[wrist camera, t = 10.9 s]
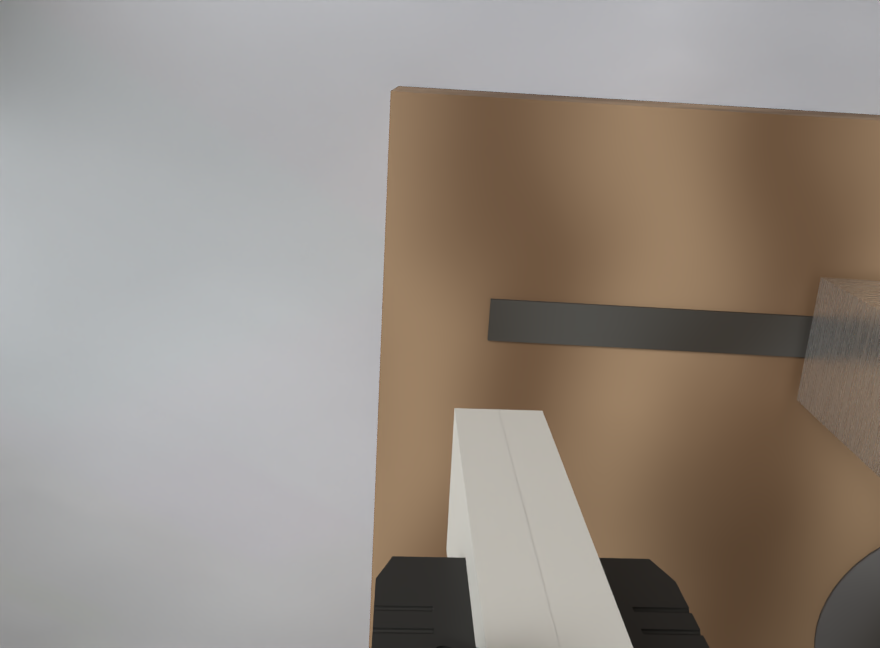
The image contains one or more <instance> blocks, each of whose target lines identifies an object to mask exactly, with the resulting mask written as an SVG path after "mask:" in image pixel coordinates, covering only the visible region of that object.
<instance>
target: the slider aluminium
mask: <svg viewBox="0 0 880 648" xmlns="http://www.w3.org/2000/svg"><path fill="white" fill-rule="evenodd" d="M797 401H798V402H799V403H800V404H802V405H803V406H804V407H805V408H806V409H807V410H808V411H809V412H810V413H811V414H812V415H813V416H814V417H815V418H817V419H818V420H819V421H820V422H821V423H822V424H823V425H824V426H825V427H826V428H827V429H828V430H829V431H830V432H832V433H833V434H834V435H835V436H836V437H837V438H838V439H839V440H840V441H841V442H842V443H843V444H844V445H845V446H847V447H848V448H849V449H850V450H851V451H852V452H853V453H854V454H855V455H856V456H857V457H858V458H859V459H860V460H862V461H863V462H864V463H865V464H866V465H867V466H868V467H869V468H870V469H871V470H872V471H873V472H874V473H875V474H877V475H878V476H879V477H880V281H875V280H857V279H839V278H822V277H821V280H820V285H819V290H818V295H817V300H816V305H815V310H814V315H813V320H812V325H811V330H810V335H809V340H808V345H807V350H806V355H805V360H804V365H803V370H802V375H801V380H800V385H799V390H798V395H797Z"/></svg>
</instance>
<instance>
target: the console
mask: <svg viewBox="0 0 880 648" xmlns="http://www.w3.org/2000/svg"><path fill="white" fill-rule="evenodd" d="M821 277H822V278H839V279H857V280H875V281H880V115H869V114H852V113H835V112H819V111H802V110H786V109H769V108H752V107H736V106H719V105H703V104H686V103H669V102H653V101H636V100H620V99H603V98H586V97H570V96H553V95H536V94H520V93H503V92H487V91H470V90H453V89H437V88H420V87H404V86H398V87H397V88H395V89H393V90H392V91H391V99H390V125H389V150H388V176H387V201H386V227H385V253H384V278H383V304H382V329H381V355H380V380H379V406H378V432H377V457H376V483H375V508H374V534H373V559H372V585H371V611H370V636H369V648H371V646H372V632H373V614H374V598H375V582H376V578H377V576H378V575H379V573H380V572H381V571H382V569H383V568H384V567H385V565H386V564H387V563H388V561H389V560H390V559H391V557H392V556H407V557H447V550H446V548H447V530H448V513H449V495H450V478H451V460H452V443H453V425H454V408H467V409H501V410H535V411H543V414H544V416H545V419H546V421H547V424H548V427H549V429H550V432H551V434H552V437H553V440H554V442H555V445H556V447H557V450H558V453H559V455H560V458H561V460H562V463H563V466H564V468H565V471H566V474H567V476H568V479H569V481H570V484H571V487H572V489H573V492H574V494H575V497H576V500H577V502H578V505H579V507H580V510H581V513H582V515H583V518H584V521H585V523H586V526H587V528H588V531H589V534H590V536H591V539H592V541H593V544H594V547H595V549H596V552H597V554H598V557H599V558H634V559H650V560H651V561H652V562H654V563H655V564H656V565H657V566H658V567H659V568H660V569H662V570H663V571H664V572H665V573H666V574H667V575H669V576H670V577H671V578H672V579H673V580H674V581H676V583H677V585H678V587H679V589H680V591H681V593H682V595H683V597H684V599H685V601H686V603H687V605H688V607H689V613H692V614H693V616H694V618H695V620H696V622H697V624H698V626H699V628H700V634H701V635H703V636H704V638H705V640H706V642H707V644H708V646H709V648H880V477H879V476H878V475H877V474H875V473H874V472H873V471H872V470H871V469H870V468H869V467H868V466H867V465H866V464H865V463H864V462H863V461H862V460H860V459H859V458H858V457H857V456H856V455H855V454H854V453H853V452H852V451H851V450H850V449H849V448H848V447H847V446H845V445H844V444H843V443H842V442H841V441H840V440H839V439H838V438H837V437H836V436H835V435H834V434H833V433H832V432H830V431H829V430H828V429H827V428H826V427H825V426H824V425H823V424H822V423H821V422H820V421H819V420H818V419H817V418H815V417H814V416H813V415H812V414H811V413H810V412H809V411H808V410H807V409H806V408H805V407H804V406H803V405H802V404H800V403H799V402H798V401H797V395H798V390H799V385H800V380H801V375H802V370H803V365H804V360H805V355H806V350H807V345H808V340H809V335H810V330H811V325H812V320H813V315H814V310H815V305H816V300H817V295H818V290H819V285H820V280H821Z"/></svg>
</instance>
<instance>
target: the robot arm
mask: <svg viewBox="0 0 880 648" xmlns="http://www.w3.org/2000/svg"><path fill="white" fill-rule="evenodd" d="M446 550H447V557H407V556H392V557H391V559H390V560H389V561H388V563H387V564H386V565H385V567H384V568H383V569H382V571H381V572H380V573H379V575H378V576H377V578H376V582H375V598H374V614H373V632H372V646H371V648H709V646H708V644H707V642H706V640H705V638H704V636H703V635H701V634H700V628H699V626H698V624H697V622H696V620H695V618H694V616H693V614H692V613H689V607H688V605H687V603H686V601H685V599H684V597H683V595H682V593H681V591H680V589H679V587H678V585H677V583H676V581H674V580H673V579H672V578H671V577H670V576H669V575H667V574H666V573H665V572H664V571H663V570H662V569H660V568H659V567H658V566H657V565H656V564H655V563H654V562H652V561H651V560H650V559H634V558H599V557H598V554H597V552H596V549H595V547H594V544H593V541H592V539H591V536H590V534H589V531H588V528H587V526H586V523H585V521H584V518H583V515H582V513H581V510H580V507H579V505H578V502H577V500H576V497H575V494H574V492H573V489H572V487H571V484H570V481H569V479H568V476H567V474H566V471H565V468H564V466H563V463H562V460H561V458H560V455H559V453H558V450H557V447H556V445H555V442H554V440H553V437H552V434H551V432H550V429H549V427H548V424H547V421H546V419H545V416H544V414H543V411H535V410H501V409H467V408H454V425H453V443H452V460H451V478H450V495H449V513H448V530H447V548H446Z"/></svg>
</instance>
